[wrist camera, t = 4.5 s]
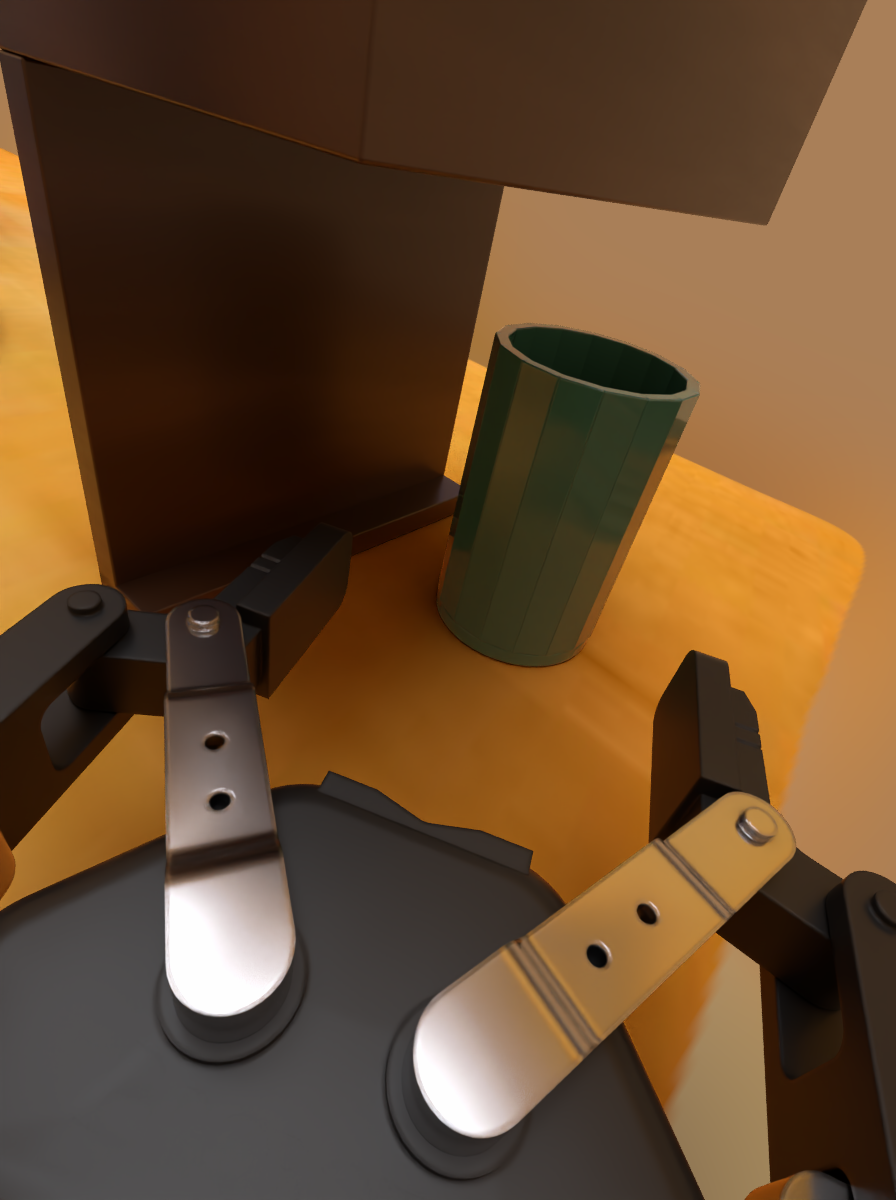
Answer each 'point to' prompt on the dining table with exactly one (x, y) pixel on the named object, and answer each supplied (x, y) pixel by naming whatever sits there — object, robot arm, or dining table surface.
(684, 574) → the dining table surface
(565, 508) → the storage bucket
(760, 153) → the drawer unit
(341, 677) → the dining table surface
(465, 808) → the dining table surface
